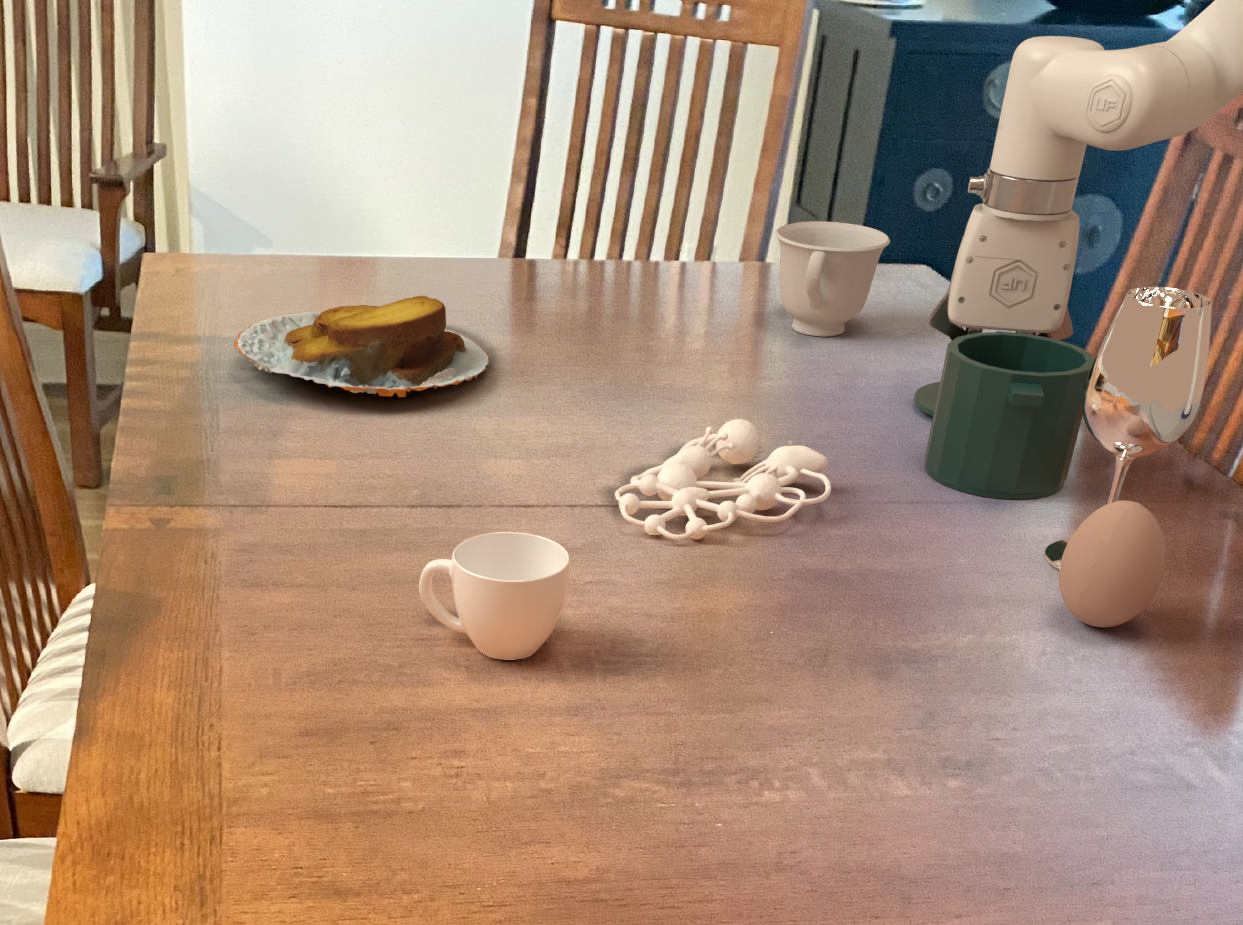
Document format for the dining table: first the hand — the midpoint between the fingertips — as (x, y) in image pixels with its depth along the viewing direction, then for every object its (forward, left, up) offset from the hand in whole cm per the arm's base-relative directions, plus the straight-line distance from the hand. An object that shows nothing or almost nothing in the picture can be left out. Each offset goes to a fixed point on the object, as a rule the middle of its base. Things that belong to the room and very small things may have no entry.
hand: (984, 397), depth 142 cm
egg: (-5, +44, -2) cm, 44 cm away
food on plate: (+60, +4, -2) cm, 60 cm away
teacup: (+16, -22, -2) cm, 27 cm away
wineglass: (-6, +33, -2) cm, 34 cm away
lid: (0, 0, -1) cm, 1 cm away
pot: (0, +16, -1) cm, 16 cm away
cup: (+36, +58, -2) cm, 68 cm away
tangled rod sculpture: (+22, +29, -2) cm, 36 cm away
